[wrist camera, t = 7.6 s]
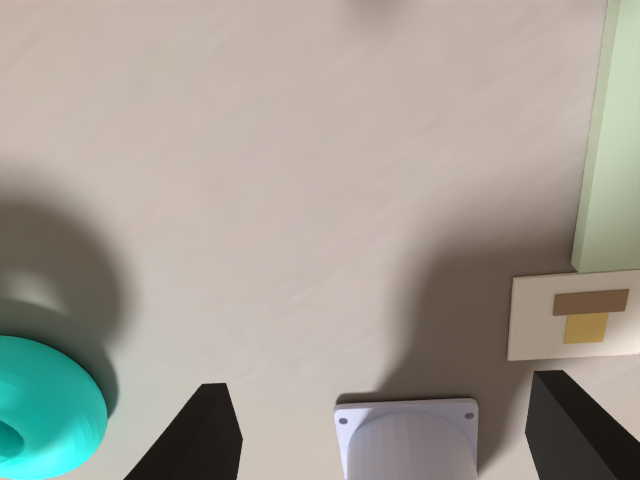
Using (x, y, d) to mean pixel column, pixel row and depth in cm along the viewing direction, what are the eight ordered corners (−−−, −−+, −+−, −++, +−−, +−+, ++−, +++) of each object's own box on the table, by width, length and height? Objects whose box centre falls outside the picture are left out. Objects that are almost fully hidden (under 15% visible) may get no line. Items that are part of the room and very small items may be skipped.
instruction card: (652, 350, 22) (655, 354, 21) (507, 358, 22) (508, 362, 22) (674, 264, 19) (679, 268, 19) (513, 277, 20) (515, 280, 20)
